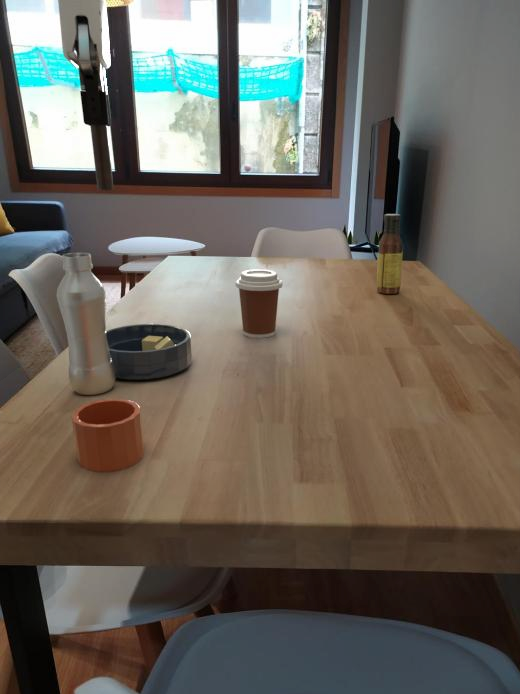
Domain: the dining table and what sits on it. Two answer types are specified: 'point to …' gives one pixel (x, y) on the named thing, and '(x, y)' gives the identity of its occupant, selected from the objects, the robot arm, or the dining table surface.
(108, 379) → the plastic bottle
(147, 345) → the chunk
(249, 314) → the coffee cup
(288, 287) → the dining table surface
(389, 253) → the sauce bottle
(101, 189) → the stick
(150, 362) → the bowl
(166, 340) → the chunk
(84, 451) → the holder
